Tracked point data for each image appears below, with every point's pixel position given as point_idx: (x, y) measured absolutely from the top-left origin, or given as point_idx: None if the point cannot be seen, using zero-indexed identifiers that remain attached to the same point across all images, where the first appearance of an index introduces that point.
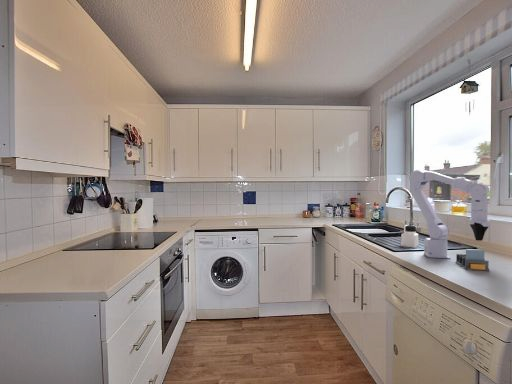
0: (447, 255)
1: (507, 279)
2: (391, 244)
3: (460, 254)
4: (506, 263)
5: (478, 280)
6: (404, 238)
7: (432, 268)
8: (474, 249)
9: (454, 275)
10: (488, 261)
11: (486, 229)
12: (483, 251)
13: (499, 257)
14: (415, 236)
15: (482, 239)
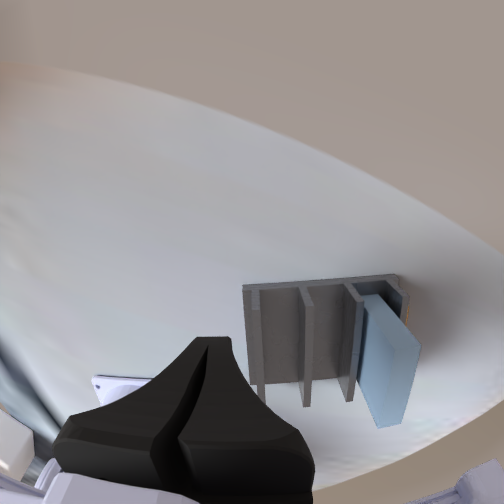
0: (128, 381)
1: (492, 247)
2: (33, 468)
3: (264, 395)
4: (178, 102)
5: (496, 347)
6: (21, 472)
7: (375, 452)
8: (391, 392)
9: (451, 403)
10: (407, 294)
11: (273, 415)
12: (417, 346)
13: (40, 102)
14: (2, 456)
15: (231, 343)
